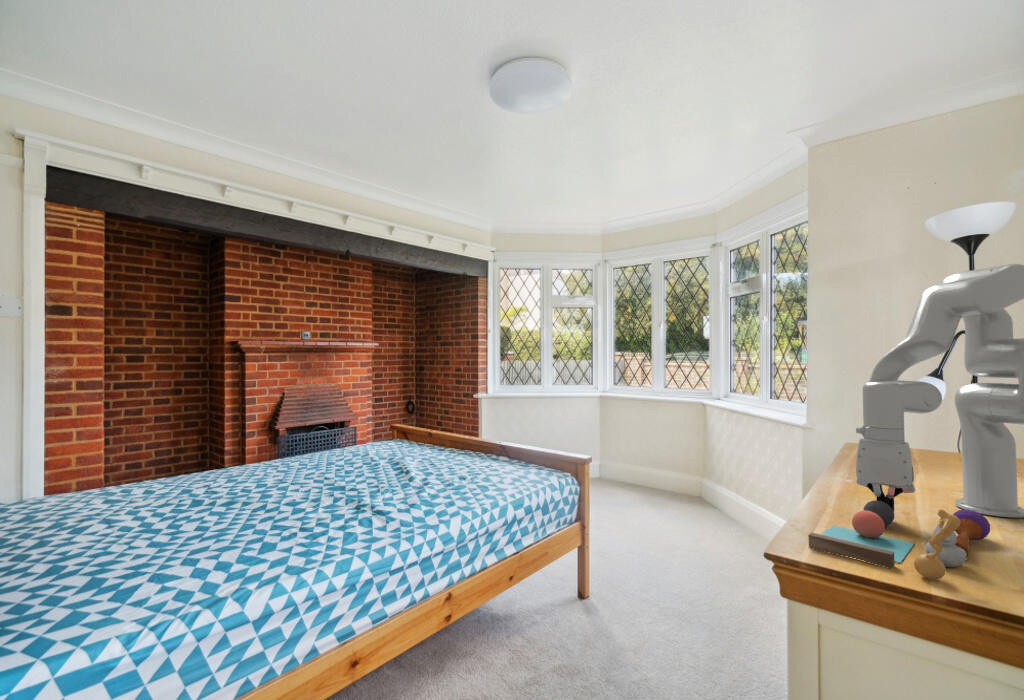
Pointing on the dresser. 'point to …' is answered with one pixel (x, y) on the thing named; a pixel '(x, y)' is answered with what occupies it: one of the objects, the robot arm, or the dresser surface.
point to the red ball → (868, 524)
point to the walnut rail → (852, 550)
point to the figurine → (936, 548)
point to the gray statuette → (948, 550)
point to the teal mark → (872, 541)
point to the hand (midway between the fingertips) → (885, 513)
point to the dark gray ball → (881, 511)
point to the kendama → (970, 528)
